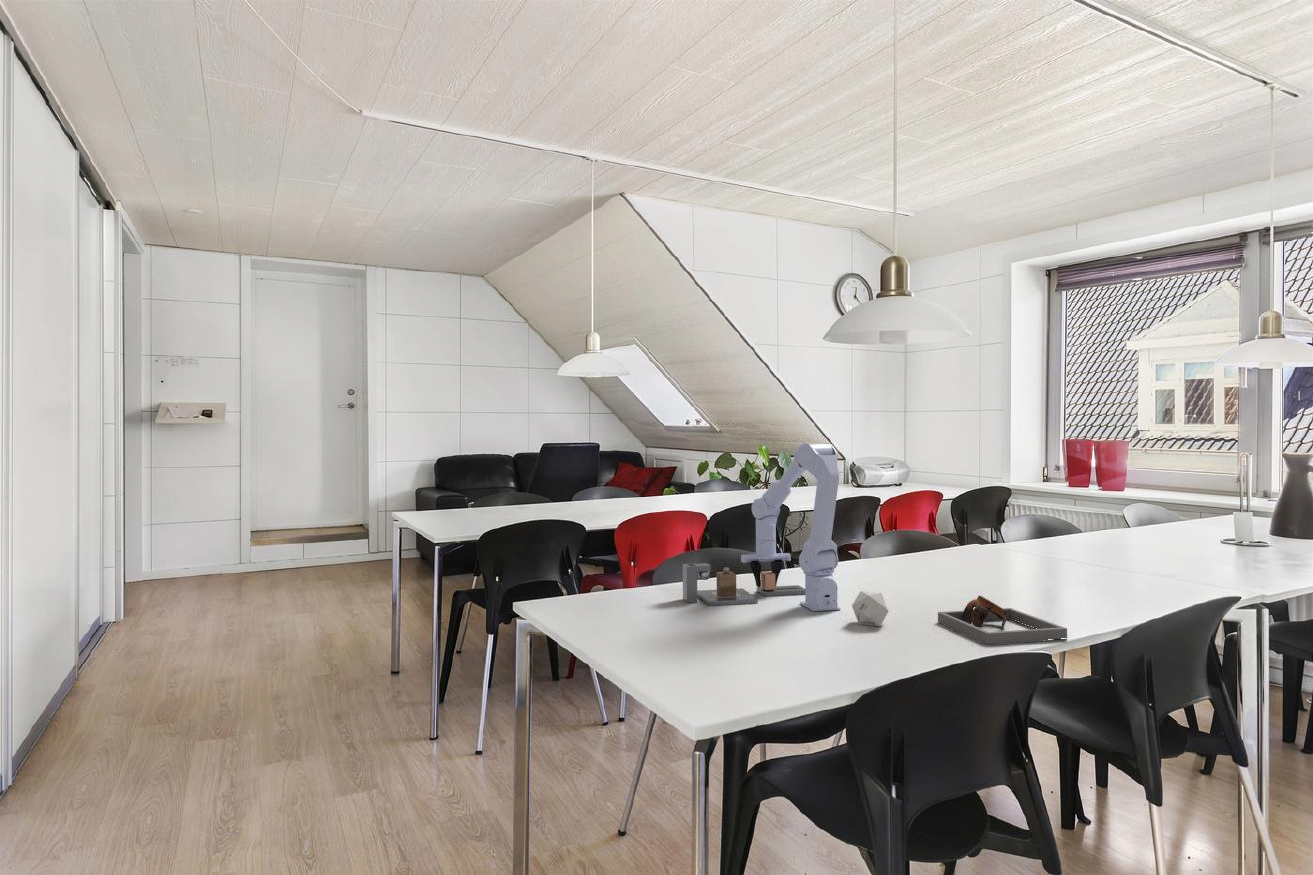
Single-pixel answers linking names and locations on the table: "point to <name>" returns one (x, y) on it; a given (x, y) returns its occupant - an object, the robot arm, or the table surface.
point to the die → (870, 608)
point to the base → (782, 591)
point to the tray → (1003, 637)
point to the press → (709, 595)
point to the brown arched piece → (982, 611)
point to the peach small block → (768, 580)
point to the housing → (726, 583)
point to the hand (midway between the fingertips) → (766, 586)
